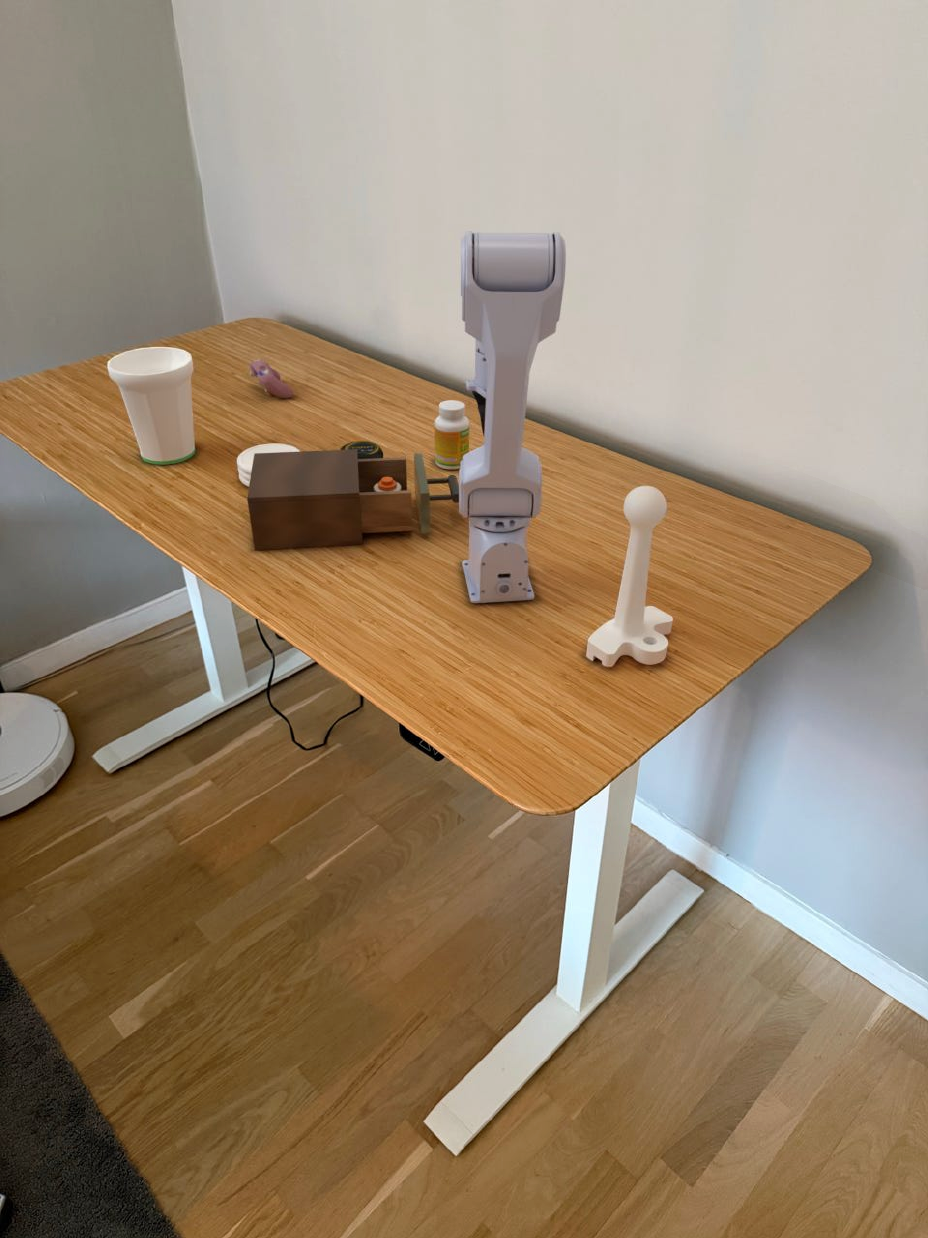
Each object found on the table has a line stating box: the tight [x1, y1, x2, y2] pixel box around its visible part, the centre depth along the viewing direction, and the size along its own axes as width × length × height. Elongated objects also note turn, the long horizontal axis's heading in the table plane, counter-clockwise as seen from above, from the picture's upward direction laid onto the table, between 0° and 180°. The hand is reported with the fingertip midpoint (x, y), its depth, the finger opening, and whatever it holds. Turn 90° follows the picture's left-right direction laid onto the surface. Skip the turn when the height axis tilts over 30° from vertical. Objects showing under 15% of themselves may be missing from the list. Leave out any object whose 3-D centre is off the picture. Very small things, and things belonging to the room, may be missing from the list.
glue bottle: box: [374, 477, 401, 492], centre depth 124 cm, size 4×4×4 cm
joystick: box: [585, 485, 674, 668], centre depth 97 cm, size 11×8×20 cm
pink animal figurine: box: [248, 358, 294, 399], centre depth 163 cm, size 10×5×7 cm, turn 25°
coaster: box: [236, 442, 301, 488], centre depth 136 cm, size 10×10×4 cm
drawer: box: [357, 453, 459, 535], centre depth 124 cm, size 18×12×6 cm
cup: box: [106, 346, 196, 466], centre depth 139 cm, size 12×12×15 cm
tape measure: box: [339, 440, 384, 459], centre depth 138 cm, size 7×7×4 cm
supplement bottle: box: [434, 399, 470, 470], centre depth 139 cm, size 5×5×10 cm
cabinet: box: [246, 449, 363, 551], centre depth 123 cm, size 14×13×8 cm
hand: (494, 446), depth 122 cm, fingers open, 5 cm apart
